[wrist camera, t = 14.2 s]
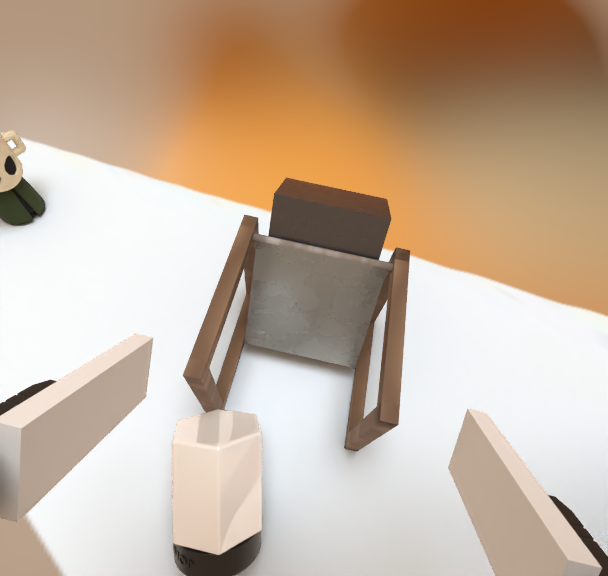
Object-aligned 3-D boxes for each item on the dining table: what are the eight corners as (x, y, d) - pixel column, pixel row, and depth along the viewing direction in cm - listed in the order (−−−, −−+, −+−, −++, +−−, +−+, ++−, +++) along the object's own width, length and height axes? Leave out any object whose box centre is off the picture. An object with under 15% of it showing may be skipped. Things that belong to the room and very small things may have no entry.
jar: (166, 452, 30) (167, 595, 31) (266, 442, 32) (266, 576, 33) (177, 411, 39) (178, 523, 39) (255, 405, 41) (255, 512, 41)
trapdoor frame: (372, 317, 53) (409, 250, 39) (356, 451, 44) (398, 424, 30) (249, 290, 54) (244, 214, 40) (208, 416, 44) (182, 375, 31)
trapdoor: (395, 200, 43) (402, 224, 36) (355, 330, 53) (354, 368, 46) (278, 175, 44) (262, 194, 37) (259, 308, 53) (244, 343, 46)
